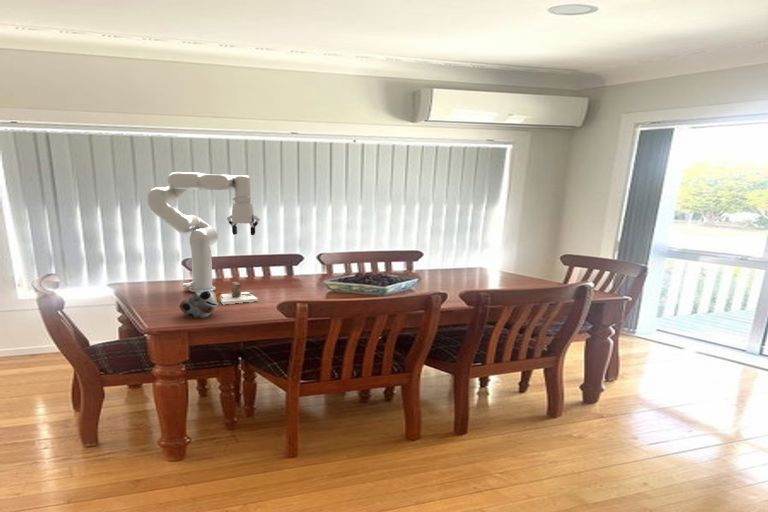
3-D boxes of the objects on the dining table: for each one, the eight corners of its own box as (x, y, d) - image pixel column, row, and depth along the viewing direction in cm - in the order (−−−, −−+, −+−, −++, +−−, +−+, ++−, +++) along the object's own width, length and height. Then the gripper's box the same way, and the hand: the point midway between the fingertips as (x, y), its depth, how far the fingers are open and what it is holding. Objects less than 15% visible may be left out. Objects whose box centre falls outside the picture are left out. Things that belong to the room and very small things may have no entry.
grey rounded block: (205, 309, 223) (219, 282, 221) (216, 325, 216) (231, 298, 213) (173, 305, 212) (188, 277, 209) (184, 321, 205) (199, 293, 202)
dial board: (223, 305, 232) (222, 301, 231) (215, 297, 245) (215, 294, 245) (257, 301, 240) (257, 298, 239) (248, 294, 253) (248, 291, 253)
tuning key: (233, 297, 238) (233, 284, 237) (230, 294, 244) (229, 282, 243) (254, 295, 243) (254, 283, 242) (250, 293, 249) (250, 280, 248)
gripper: (223, 200, 251) (224, 234, 253) (255, 201, 248) (256, 235, 250) (230, 199, 258) (231, 233, 261) (262, 200, 255) (263, 234, 257)
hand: (243, 234), depth 255 cm, fingers open, 9 cm apart
